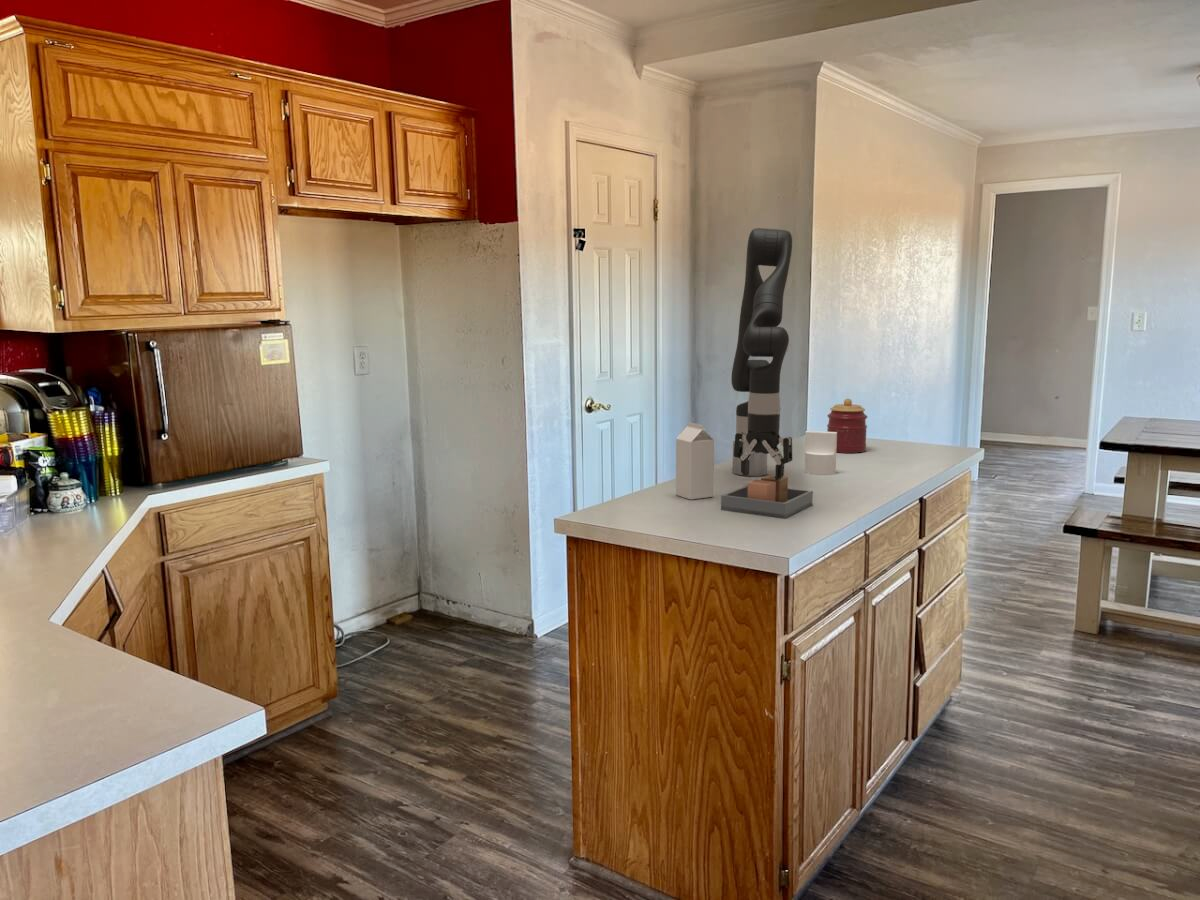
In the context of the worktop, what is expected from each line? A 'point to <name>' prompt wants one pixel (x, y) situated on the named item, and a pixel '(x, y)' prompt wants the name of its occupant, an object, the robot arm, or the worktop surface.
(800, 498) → the tray
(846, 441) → the canister
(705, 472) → the milk carton
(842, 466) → the worktop surface
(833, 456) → the cylinder with rectangular tab
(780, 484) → the walnut block
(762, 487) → the terracotta block
